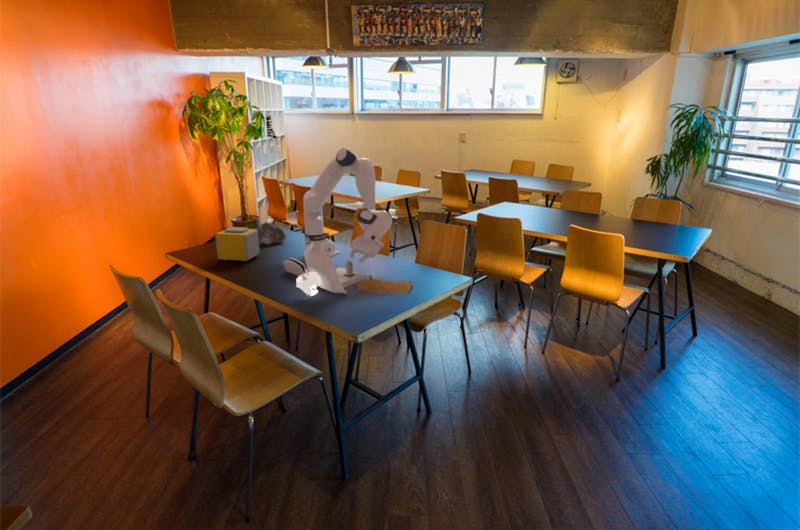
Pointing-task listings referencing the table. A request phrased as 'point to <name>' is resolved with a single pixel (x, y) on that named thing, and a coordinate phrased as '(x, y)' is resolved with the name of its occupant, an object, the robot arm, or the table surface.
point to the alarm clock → (237, 243)
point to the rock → (270, 233)
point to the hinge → (294, 266)
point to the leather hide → (384, 286)
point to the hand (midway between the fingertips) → (355, 259)
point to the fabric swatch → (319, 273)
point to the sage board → (349, 281)
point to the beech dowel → (349, 269)
